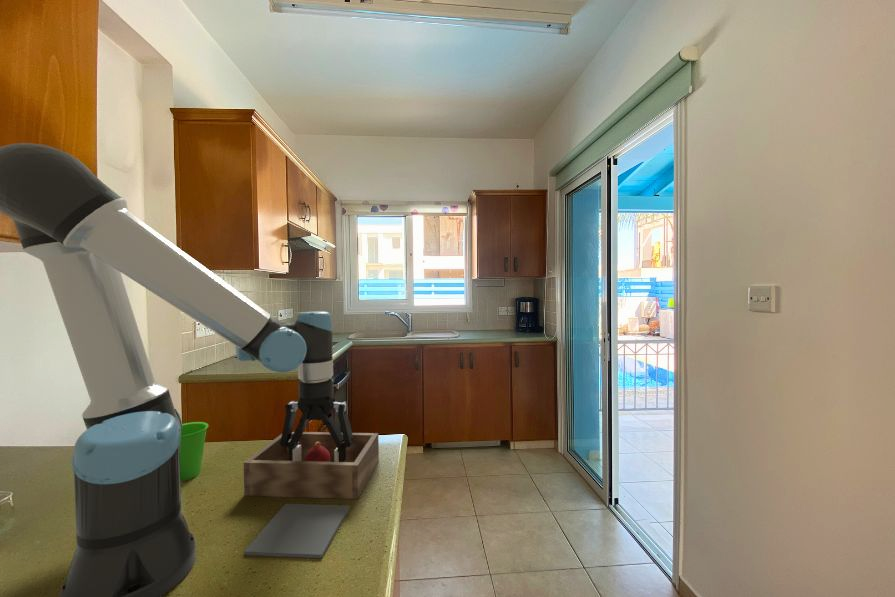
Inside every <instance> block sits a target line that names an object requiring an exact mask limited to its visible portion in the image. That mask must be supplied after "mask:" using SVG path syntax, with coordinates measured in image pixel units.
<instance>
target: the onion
mask: <svg viewBox="0 0 895 597" xmlns="http://www.w3.org/2000/svg"><path fill="white" fill-rule="evenodd" d="M320 444H321V443H320V442H316V443H315V445H314V447H312V448H311V449H310V450H309V451H308V452H307V454H306V455H305V459H304V461H315V462H330V461H331V459H330V453H329V451H328V450H327V449H326V448H325V447H323V446H321V445H320Z"/></svg>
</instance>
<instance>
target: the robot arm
mask: <svg viewBox="0 0 895 597" xmlns="http://www.w3.org/2000/svg"><path fill="white" fill-rule="evenodd" d="M0 213H1V214H3V215H4V216H6V217H7V218H10V220H12V221H13V224H14V227H15V230H16V233H17V235H18V239H19V241H20V243H21V247H22V250H23V252H24V253H26V254H28V255H30V256H32V257H34V258H36V259H38V260H40V261H41V262H42V264H43V267H44V270H45V273H46V276H47V278H48V282H49V284H50V286H51V290H52V292H53V296H54V298H55V302H56V304H57V306H58V310H59V313H60V316H61V318H62V322H63V324H64V328H65V330H66V333H67V336H68V339H69V342H70V345H71V347H72V349H73V350H72V351H73V353H74V356H75V359H76V362H77V365H78V368H79V370H80V373H81V376H82V380H83V382H84V384H85V388H86V391H87V394H88V396H89V400H90V403H89V405H88V406H87V407H86V408H85V410H84V411H83V412H82V413H81V417H82V419H83V422H84V423H83V424H84V425H85V426H84V427H85V428H86V430H84V431H83V432H82V433H81V434H80V435H79V436H78V438H77V439H76V441H75V444H74V448H73V450H74V451H73V454H72V457H71V467H72V471H73V475H74V476H73V478H74V479H73V481H74V505H75V532H76V533H75V534H76V535H75V536H76V538H75V539H76V548H75V551H74V553H73V556H72V560H71V562H70V565H69V566H70V567H69V570H68V575H67V577H66V579H65V580H64V582H63V583H62V586H61V589H60V591H59V597H163V596H164V595H165V594H166V593H168V592H170V591H171V590H172V589H173V588H175V587H176V586H177V585H178V584H179V583H180V582H181V581H183V579H185V577H186V576H187V575H188V574H189V572H190V571H191V569H193V566H194V565H195V561H196V558H197V550H196V548H197V547H196V539H195V537H194V535H193V534H192V533H191V531H190V529H189V526H188V523H187V520H186V519H185V516H184V514H183V512H182V502H181V500H182V499H181V498H182V494H181V493H182V492H181V487H182V486H181V481H180V440H181V434H182V424H183V422H182V421H183V420H182V417H181V415H180V413H179V412H178V410H177V409H176V408H175V406H174V403H173V399H172V396H171V393H170V390H169V388H168V386H167V385H163V384H162V383H159V382H156V381H155V378H154V375H153V371H152V368H151V365H150V361H149V359H148V356H147V352H146V349H145V346H144V343H143V340H142V337H141V332H140V331H139V326H138V323H137V320H136V317H135V314H134V311H133V307H132V305H131V302H130V298H129V296H128V292H127V289H126V285H125V283H124V280H123V276H122V274H123V275H125V276H126V277H127V278H129V279H131V280H132V281H134V282H136V283H137V284H139V285H140V286H142V287H144V288H145V289H147V290H148V291H149V292H151V293H152V294H155V295H156V296H157V297H159V298H160V299H162V300H163V301H165V302H167V303H168V304H170V305H171V306H173V307H174V308H176V309H177V310H179V311H180V312H182V313H184V314H185V315H186V316H188V317H190V318H191V319H193V320H195V321H196V322H197V323H199V324H200V325H202V326H203V327H206V328H207V329H209V330H210V331H212V332H213V333H215V334H216V335H218V336H220V337H221V338H223V339H224V340H225V341H227V342H228V343H230V344H232V345H233V346H235V354H236V358H237V360H238V361H239V362H240V361H241V362H255V361H258V362H259V363H261V364H262V366H263V367H264V368H266V369H268V370H269V371H272V372H276V373H288V372H290V371H293V370H295V369H297V368H298V369H297V378H298V379H299V381H298V384H297V386H298V397H299V399H298V401H295V400H291V401H290V402H288V403H286V404H285V405H284V407H285V418H284V423H283V429H282V431H281V432H282V433H281V434H282V437H281V441H280V445H281V446H286V447H288V448H289V461H302V457H301V445H297V444H298V443H299V440H300V438H301V436H302V433H303V432H305V429H306V427H307V425H308V423H309V421H322V423H323V424H324V425H325V427H326V429H327V431H328V432H329V433H330V435H331V436H332V438H333V440H334V442H335V444H336V446H337V448H336V449H335V450H334V462H344V461H345V459H346V447H350V446H351V444H352V443H353V442H354V439H353V435H352V433H353V432H352V428H351V427H352V426H351V423H350V419H349V414H348V402H347V401H342V402H339V401H336V400H335V397H334V379H333V378H332V377H333V376H334V360H333V332H334V330H333V319H332V315H331V313H330V312H329V311H324V310H323V311H322V310H320V311H319V310H317V311H315V310H313V311H301V312H298V313H297V314H296V319H295V320H293V321H287V322H281V321H279V320H278V319H276V317H274V316H272V315H271V314H270V313H269V312H267V311H266V310H264V309H263V307H261V306H259V305H258V304H257V303H255V302H254V301H252V300H251V299H250V298H248V297H247V296H245V295H244V294H243V293H241V292H240V291H238V290H237V289H235V288H234V287H233V286H232V285H231V284H229V283H227V282H226V280H223V279H222V278H221V277H219V276H218V275H217V274H215V273H214V272H212V271H211V270H209V268H207V267H206V266H204V265H203V264H202V263H200V262H199V261H197V260H196V259H195V258H193V257H192V256H191V255H189V254H188V253H187V252H185V251H183V250H182V249H181V248H180V247H178V246H177V245H175V244H174V243H173V242H171V241H170V240H169V239H167V238H166V237H164V236H163V234H160V233H159V232H157V231H156V230H155V229H153V228H152V227H151V226H149V225H148V224H147V223H145V222H144V221H142V220H141V219H140V218H139V217H137V216H135V215H134V214H132V213H131V212H130V211H129V210H128V204H127V201H126V199H124V198H123V197H122V196H121V195H119V194H118V193H117V192H115V191H114V190H112V189H111V188H110V187H109V186H108V185H106V184H105V183H104V182H103V181H102V180H101V179H100V178H98V177H97V176H96V175H95V174H94V173H93V172H92V170H90V168H89V167H88V166H86V164H85V163H83V162H82V161H81V160H80V159H78V158H77V157H75V156H74V155H72V154H70V153H67V152H66V151H63V150H61V149H59V148H56V147H52V146H50V145H45V144H40V143H32V142H27V143H26V142H20V143H10V144H8V145H7V144H6V145H4V146H3V145H2V146H0ZM333 409H335V412H336V413H337V417H338V418H337V419H338V421H339V425H338V423H337V422H336V419H335V415H334V413H333V411H332V410H333ZM298 410H300V412H301V413H302V414H301V416H300V418H299V420H298V424H297V426H296V428H295V431H294V424H295V420H296V416H297V411H298ZM339 426H340V427H339ZM292 432H294V434H293V436H292V438H291V435H292ZM342 434H343V435H342Z"/></svg>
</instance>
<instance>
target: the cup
mask: <svg viewBox="0 0 895 597" xmlns="http://www.w3.org/2000/svg"><path fill="white" fill-rule="evenodd" d="M209 427H210V426H209V424H208V423H207V422H203V421H192V422H187V423H185V422H184V423H182V434H181V440H180V482H184V481H188V480H191V479H194V478H195V477H197V476H198V475H199V474H200V472H201V468H202V460H203V454H204V448H205V442H206V436H207V435H206V434H207V429H208V428H209Z"/></svg>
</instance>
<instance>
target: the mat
mask: <svg viewBox="0 0 895 597" xmlns="http://www.w3.org/2000/svg"><path fill="white" fill-rule="evenodd" d="M349 510H350V505H341V504H340V505H337V504H335V505H334V504H308V503H307V504H305V503H285V504H284V505H283V506H282V507H281V508H280V509H279V510H278V511H277V513H275V515H274V516H273V517H272V518H271V520H270V521H269V522H268V523H267V524H266V525H265V526H264V528H263V529H262V530H261V531H260V532H259V533H258V535H257V536H256V537H255V538H254V539H253V540H252V541H251V543H250V544H249V545H248V546H247V547H246V549H245V550H244V551H243V555H244V556H257V557H259V556H260V557H278V558H279V557H282V558H284V557H285V558H286V557H287V558H305V559H306V558H310V559H322V558H323V557H324V555H325V554H326V552H327V550H328V548H329V546H330V545H331V543H332V541H333V539H334V537H335V535H336V534H337V532H338V530H339V528H340V526H341V524H342V523H343V521H344V519H345V518H346V516H347V514H348V513H349Z"/></svg>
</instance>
